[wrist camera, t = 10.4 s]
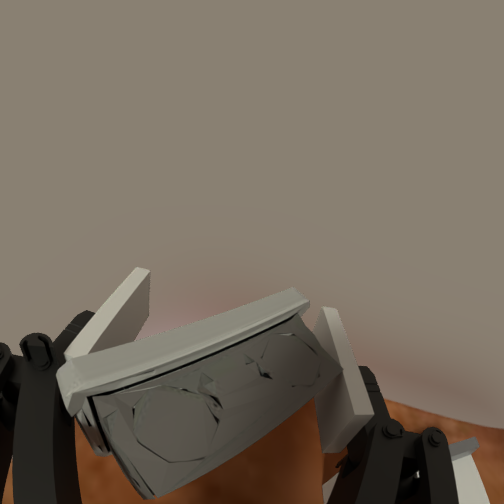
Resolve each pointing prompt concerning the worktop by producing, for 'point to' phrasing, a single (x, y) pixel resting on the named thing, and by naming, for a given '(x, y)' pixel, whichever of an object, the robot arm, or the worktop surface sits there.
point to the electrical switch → (197, 390)
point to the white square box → (465, 471)
